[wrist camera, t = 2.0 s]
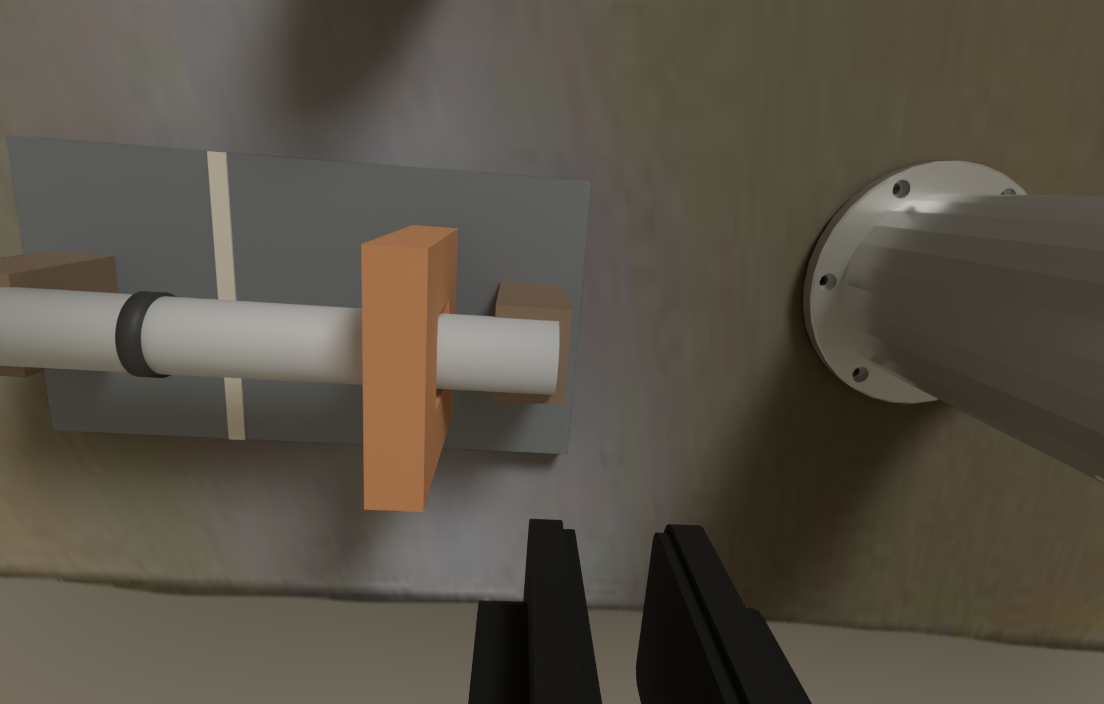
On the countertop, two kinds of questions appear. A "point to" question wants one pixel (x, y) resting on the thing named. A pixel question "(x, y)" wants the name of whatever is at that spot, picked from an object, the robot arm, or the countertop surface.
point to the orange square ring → (404, 362)
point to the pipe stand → (279, 292)
